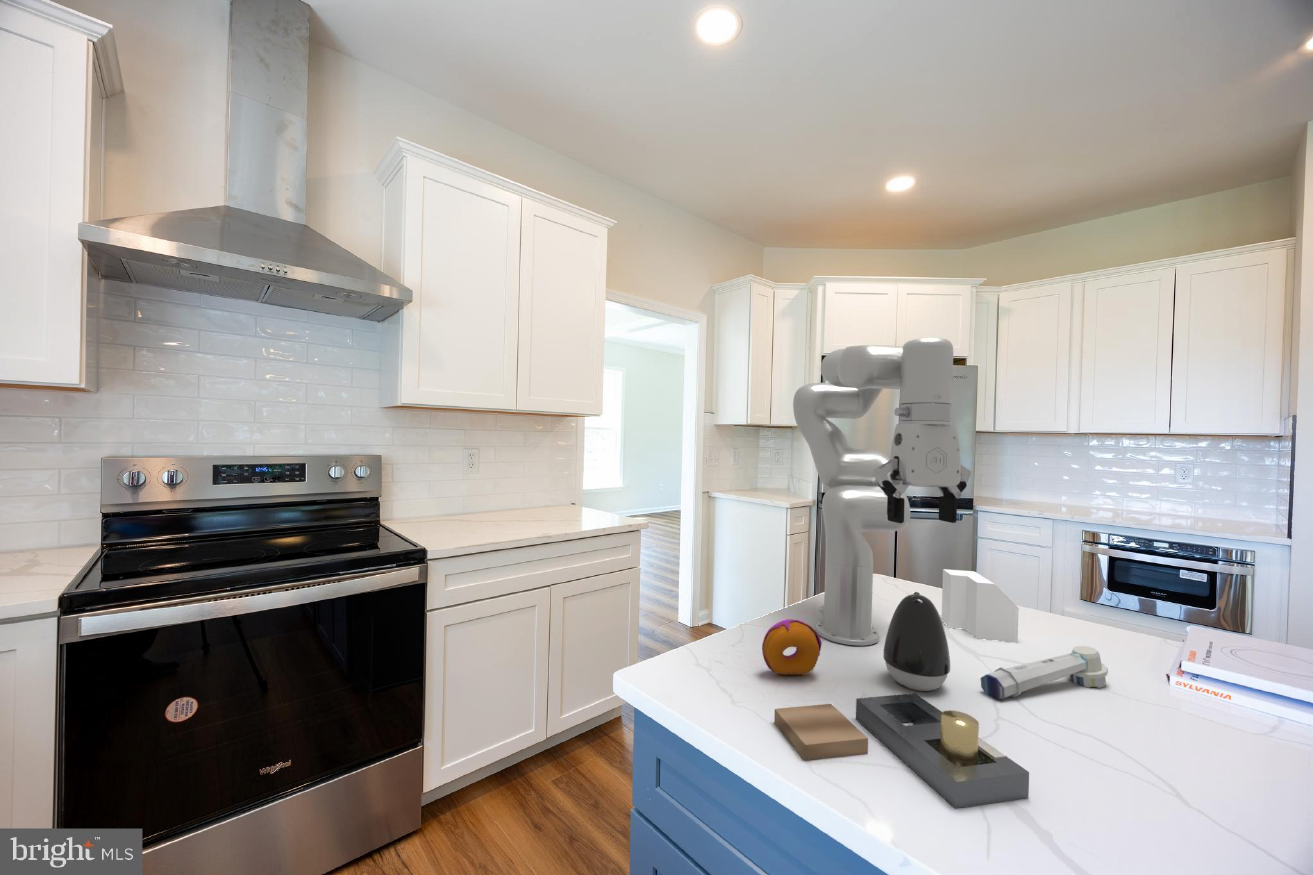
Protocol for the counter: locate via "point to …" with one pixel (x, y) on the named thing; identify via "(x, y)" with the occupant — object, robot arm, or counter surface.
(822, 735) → the brown flat square block
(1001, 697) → the grey mallet
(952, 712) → the brass peg
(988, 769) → the rail
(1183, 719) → the counter surface
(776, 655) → the donut
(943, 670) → the black egg pod
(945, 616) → the corner bracket
